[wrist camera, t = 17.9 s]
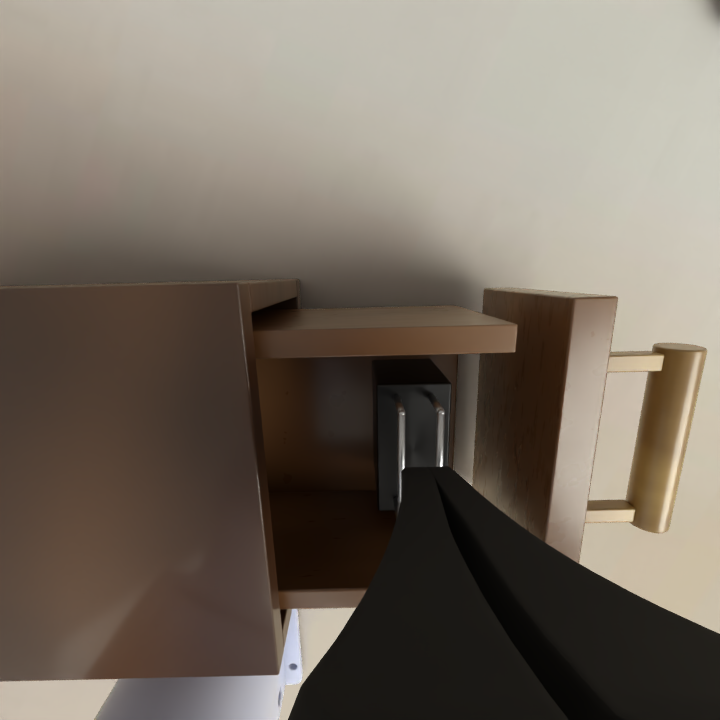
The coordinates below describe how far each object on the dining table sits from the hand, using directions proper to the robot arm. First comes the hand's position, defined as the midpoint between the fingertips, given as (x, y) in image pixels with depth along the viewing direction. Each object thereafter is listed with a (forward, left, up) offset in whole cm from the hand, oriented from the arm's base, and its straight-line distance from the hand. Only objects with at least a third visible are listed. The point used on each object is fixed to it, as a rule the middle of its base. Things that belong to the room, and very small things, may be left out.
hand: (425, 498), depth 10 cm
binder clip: (0, 0, -6) cm, 6 cm away
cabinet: (0, +12, -8) cm, 14 cm away
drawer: (0, -1, -7) cm, 7 cm away
